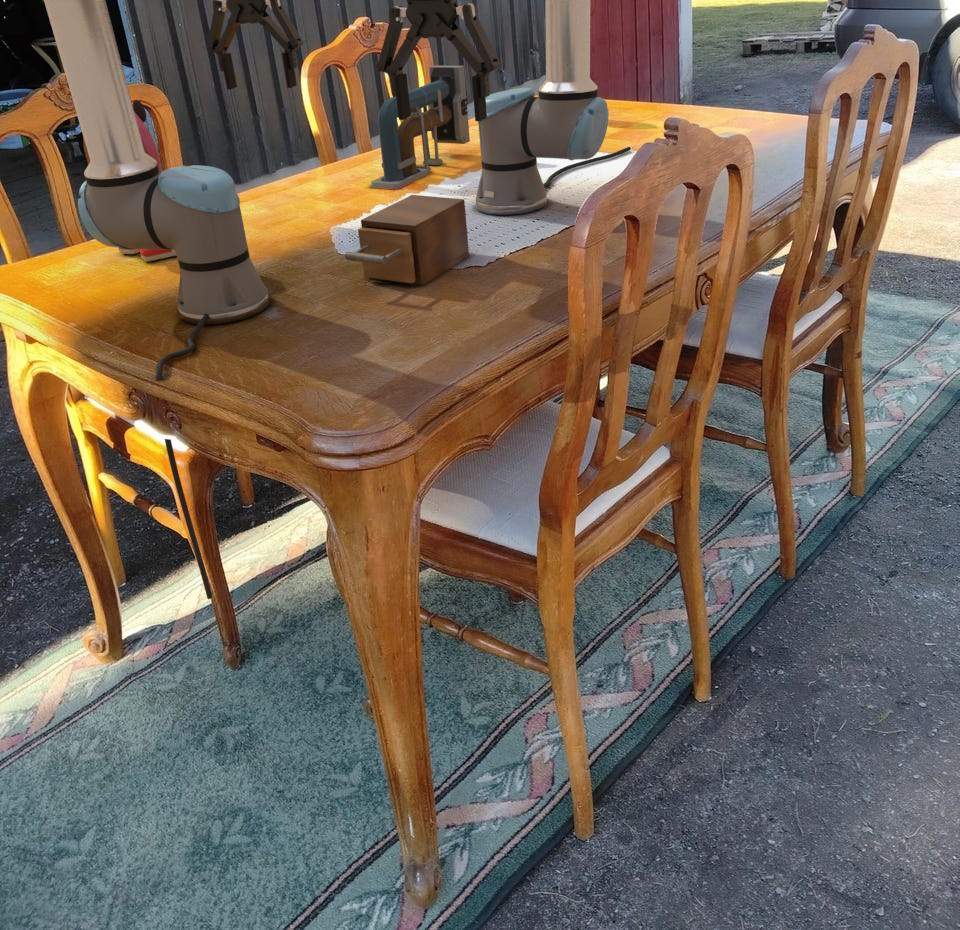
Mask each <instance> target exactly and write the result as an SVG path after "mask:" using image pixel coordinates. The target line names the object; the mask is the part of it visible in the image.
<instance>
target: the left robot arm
mask: <svg viewBox="0 0 960 930" xmlns="http://www.w3.org/2000/svg"><path fill="white" fill-rule="evenodd" d="M43 1H44V2H43V3H44V5H45V9H46V12H47V16H48V18H49V23H50V26H51V29H52V33H53V36H54V39H55V43H56V47H57V50H58V53H59V57H60V61H61V64H62V68H63V70H64V74H65V78H66V81H67V85H68V89H69V92H70V95H71V99H72V102H73V106H74V109H75V112H76V115H77V119H78V122H79V126H80V129H81V132H82V138H83V137H84V140H85V143H86V147H87V150H88V154H89V157H90V163H89V165H88V164H87V167H86V168H85V170H84V173H83V175H84V177H85V181H84V182H83V183H82V184H81V186H80V188H79V192H78V195H79V197H80V198H78V199H77V208H78V214H79V216H80V219H81V222H82V224H83V225H84V227H85V229H86V231H87V232H88V233H89V235H90V236H91V237H92V238H93V239H95V240H96V241H97V242H99V243H101V244H102V245H104V246H107V247H110V248H111V247H112V248H118V247H119V248H122V249H172V250H175V251H176V255H177V256H176V258H177V262H178V266H179V283H178V294H177V310H178V314H179V318H180V319H182V320H183V321H184V322H186V323H189V324H193V325H196V326H195V327H194V329H193V330H192V332H191V333H190V334H189V336H188V339H187V340H186V341H187V346H188V347H186V348H183V349H181V350H177V351H173V352H170V353H168V354H166V355H164V356H163V357H161V358H160V359H159V360H158V361H157V363H156V369H155V371H156V372H155V382H161V381H162V380H163V371H164V365H165V364H166V363H168V362H169V361H171V360H174V359H176V358H179V357H182V356H186V355H189V354H190V353H192V352H194V350H195V348H196V345H195V343H194V341H195V339H196V338H197V336H198V334H199V333H200V332H201V330H202V329H203V328H204V326H205V325H206V326H210V325H222V324H230V323H233V322H239V321H241V320H245V319H248V318H251V317H253V316H256V315H258V314H260V312H263V311H264V310H265V309H266V308H267V307H268V306H269V305H270V296H269V291H268V288H267V287H266V284H265V283H264V282H263V280H262V278H261V276H260V274H259V272H258V270H257V269H256V267H255V265H254V264H253V262H252V260H251V257H250V251H249V246H248V241H247V240H248V239H247V236H246V231H245V226H244V225H245V224H244V220H243V216H242V210H241V206H240V203H241V199H240V196H239V194H238V191H237V188H236V184H235V181H234V179H233V177H232V176H231V175H230V174H229V173H228V172H227V171H225V170H223V169H221V168H218V167H214V166H210V165H199V164H196V165H195V164H193V165H187V166H186V165H178V166H173V167H169V168H166V169H164V170H162V171H161V173H160V172H159V168H158V164H157V161H156V160H155V159H154V158H152V157H151V156H149V155H148V154H146V153H145V151H144V148H143V144H142V140H141V136H140V132H139V128H138V124H137V121H136V117H135V113H134V109H133V102H132V98H131V93H130V90H129V86H128V82H127V79H126V75H125V71H124V67H123V64H122V59H121V56H120V55H121V54H120V53H119V49H118V48H119V47H118V44H117V41H116V40H117V39H116V37H115V33H114V29H113V25H112V21H111V16H110V12H109V10H108V6H107V2H106V0H43ZM267 8H269V9H270V10H272V13H273V15H274V17H275V19H276V20H277V22H278V23H279V25H280V26H279V25H278V24H277V23H276V22H275V21H274V19H273V17H272V16H271V14H269V12H268V11H267ZM227 10H228V11H229V12H230V16H229V18H228V19H227V24H226V26H225V29H224V31H223V26H224V21H225V17H226V16H225V15H226V11H227ZM212 11H213V12H212V17H211V23H210V28H209V32H208V38H207V44H206V51H208V52H212V53H214V54H215V55H216V57H217V60H218V66H219V70H220V72H223V75H224V80H225V84H226V89H227V90H229V91H230V90H234V89H235V88H238V84H237V79H236V74H235V68H234V63H233V58H232V52H229V51H228V49H229V47H230V45H231V44H232V41H233V39H234V37H235V35H236V33H237V31H238V29H239V27H240V25H246V24H258V23H259V24H260V26H263V28H264V29H265V30H266V31H267V32H268V33H269V34H270V35H271V36H272V38H273V39H274V40H275V41H276V42H277V43H278V45H280V46H281V47H282V49H283V50H284V51H283V52H281V57H282V58H281V59H282V64H283V70H284V75H285V76H284V77H285V81H286V87H287V89H291V88H294V87H297V86H298V84H297V78H296V72H295V69H297V68H298V60H297V54H296V51H297V49H299V48H301V47H303V45H304V41H303V39H302V37H301V35H300V34H299V32H298V30H297V28H296V27H295V25H294V23H293V22H292V20H291V18H290V17H289V15H288V14H287V12H286V10H285V8H284V5H283V1H282V0H212ZM280 27H281V28H280ZM222 31H223V32H222ZM119 248H118V249H119ZM164 443H165V448H166V452H167V456H168V457H167V458H168V461H169V465H170V470H171V474H172V477H173V481H174V485H175V489H176V492H177V495H178V500H179V504H180V506H181V511H182V514H183V517H184V522H185V524H186V528H187V531H188V535H189V538H190V541H191V544H192V548H193V552H194V556H195V558H196V562H197V565H198V569H199V572H200V576H201V579H202V584H203V587H204V591H205V594H206V599H208V600H211V599H213V598H214V597H213V593H212V589H211V585H210V582H209V578H208V574H207V570H206V567H205V563H204V560H203V556H202V552H201V549H200V545H199V542H198V539H197V535H196V532H195V528H194V524H193V521H192V518H191V514H190V511H189V507H188V503H187V500H186V496H185V492H184V489H183V485H182V481H181V478H180V473H179V469H178V466H177V461H176V456H175V453H174V449H173V447H174V446H173V443H172V439H169V438H164Z"/></svg>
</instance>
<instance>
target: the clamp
mask: <svg viewBox="0 0 960 930" xmlns="http://www.w3.org/2000/svg"><path fill="white" fill-rule="evenodd" d="M428 72H429V81H430V83H428V84H424V85H421V86H419V87H416V88H414V89H411V90H408V93H409V102H410V111H411V113H416V114H415V115H411V116H410V117H408V118H406V119H404V120H402V122H401V123H400V124H399V125H398V119H399V116H398V108H397V99H396V97H393V96H392V97H389V98H387V99H386V100H385V101H384V102H383V103H382V104H381V106H380V108H379V110H378V113H377V128H378V138H379V144H380V153H381V161H382V163H381V168H382V169H383V175H382V176H380V177H377V178H376V179H374V180H372V181H371V182H370V184H369V187H370V188H372V189H373V188H374V189H375V188H376V189H387V190H389V189H390V190H398V189H402V188H403V187H405V186H407V185H409V184H411V183H414V182H415V181H417V180H420V179H421V178H424V177H426V176H427V175H429V174H431V173H432V168H431V166H440V165H442V164H444V160H443V158H439V144H456V145H466V144H468V143H469V142H470V141H471V138H470V137H471V136H470V126H469V114H468V113H469V111H468V99H467V87H466V73H465V66H464V65H435V64H434V65H432V66H429V67H428ZM420 109H422V110H423V111H422V112H421V110H420ZM428 132H431V138H432V140H433V143H434V144H433V146H434V158H432V157H431V152H430V144H429V136H428ZM418 136H421V145H422V153H423V161H422V165H421V164H420V165H419V164H417V157H416V151H415V150H416V149H415V138H417V137H418Z"/></svg>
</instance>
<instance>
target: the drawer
mask: <svg viewBox="0 0 960 930" xmlns="http://www.w3.org/2000/svg"><path fill="white" fill-rule="evenodd" d="M357 234H358V241H359V248H358V249H357V250H354V251H347V252H346V253H345V260H347V261H349V262H357V263H358V262H359V263H362V269H363V276H364V277H365V278H369V277H370V278H377V279H385V280H392V281H399V282H406V283H414V282H415V281H416V278H415V275H416V272H415V263H414V255H413V246H412V237H411V231H406V230H397V229H387V228H378V227H372V228H362V227H360V228H358V229H357ZM370 278H369V279H370ZM377 279H376V280H377ZM399 282H398V283H399ZM406 283H405V284H406Z"/></svg>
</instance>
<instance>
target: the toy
mask: <svg viewBox="0 0 960 930" xmlns="http://www.w3.org/2000/svg"><path fill="white" fill-rule="evenodd" d="M132 105H133V109H134V113H135V117H136V121H137V124H138V128H139V132H140V136H141V140H142V144H143V148H144V151H145V153H146V154H148V155H149V156H151V157H152V158H154V159H155V160H156V161H157V164H158V168H159V172H160V173H161V172H162V162H161V158H160V154H159V151H158V147H157V145H156V143H155V140H154V138H153V136H152V134H151V132H150V131H149V128H148V127H147V126H146V124H145V123H146V121H147V113H146V109H145V106H144V104H143V103H142V101H141V100H138V99H134V100H133V102H132ZM82 139H83V151H84V155H85V159H86V162H87V166H88V165H89V163H90V157H89V154H88V150H87V147H86V143H85V140H84V137H83V136H82ZM117 248H118V251H119V253H121V254H124V255H125V254H126V255H136V254H138V253H140V257H141V259H142V260H143V261H144V262H154V261H157V260H162V259H167V258H173V257H177V255H176V251H175V250H172V249H122V248H119V247H117Z"/></svg>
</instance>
